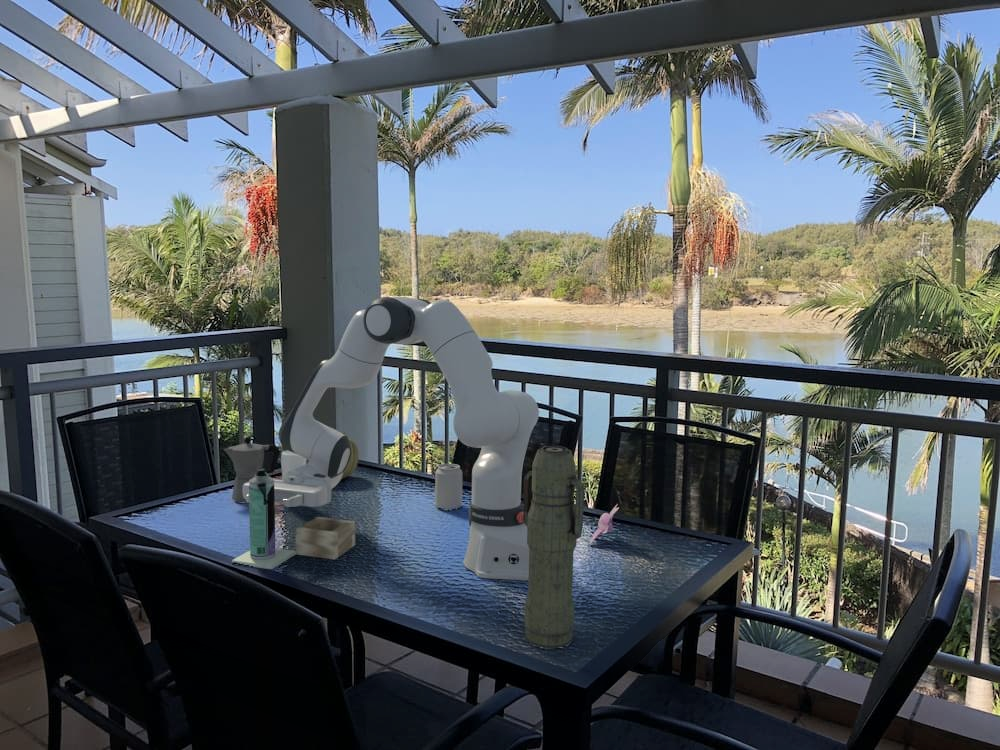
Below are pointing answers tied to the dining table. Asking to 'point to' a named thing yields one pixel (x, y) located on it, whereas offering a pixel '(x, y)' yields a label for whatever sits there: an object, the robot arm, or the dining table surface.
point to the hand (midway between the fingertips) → (266, 501)
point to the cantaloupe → (351, 459)
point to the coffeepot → (249, 463)
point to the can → (448, 486)
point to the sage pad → (279, 558)
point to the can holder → (325, 537)
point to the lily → (605, 524)
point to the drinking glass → (291, 462)
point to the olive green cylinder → (551, 545)
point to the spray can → (262, 516)
